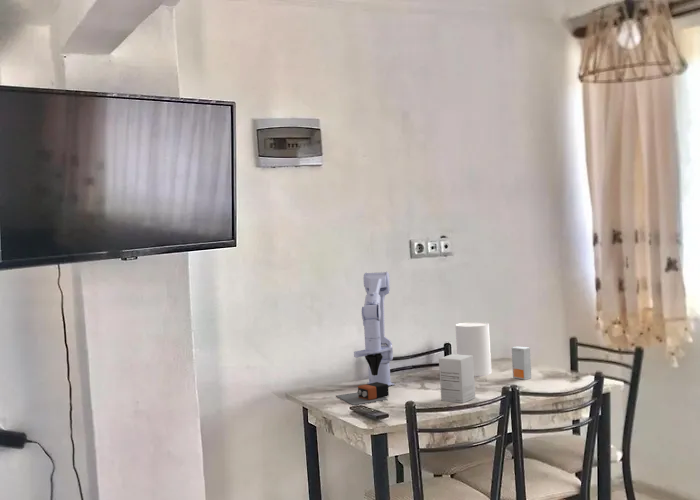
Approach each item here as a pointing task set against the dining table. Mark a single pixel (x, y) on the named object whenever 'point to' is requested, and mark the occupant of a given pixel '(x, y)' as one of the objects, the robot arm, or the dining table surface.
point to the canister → (475, 345)
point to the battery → (373, 391)
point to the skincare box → (521, 362)
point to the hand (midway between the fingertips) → (374, 374)
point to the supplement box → (457, 378)
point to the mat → (357, 399)
